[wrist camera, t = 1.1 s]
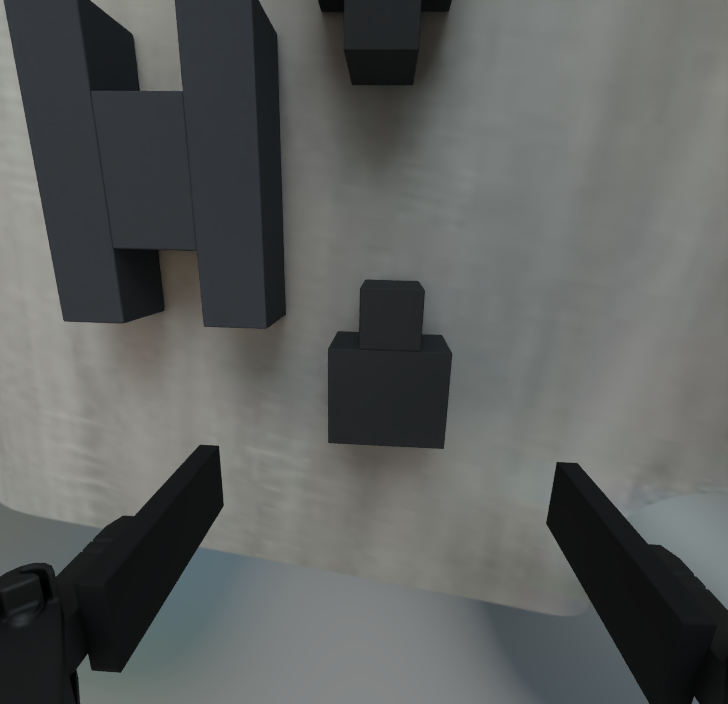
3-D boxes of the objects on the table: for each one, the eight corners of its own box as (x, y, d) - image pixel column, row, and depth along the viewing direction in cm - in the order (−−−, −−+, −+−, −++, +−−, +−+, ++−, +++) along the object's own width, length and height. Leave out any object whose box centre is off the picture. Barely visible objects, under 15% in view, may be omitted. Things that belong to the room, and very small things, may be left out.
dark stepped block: (446, 282, 25) (457, 290, 21) (435, 417, 28) (444, 449, 24) (337, 278, 26) (327, 286, 22) (337, 412, 28) (328, 443, 24)
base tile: (277, 33, 22) (251, -15, 18) (285, 314, 27) (266, 329, 22) (71, 33, 23) (0, -13, 19) (113, 308, 27) (62, 321, 23)
